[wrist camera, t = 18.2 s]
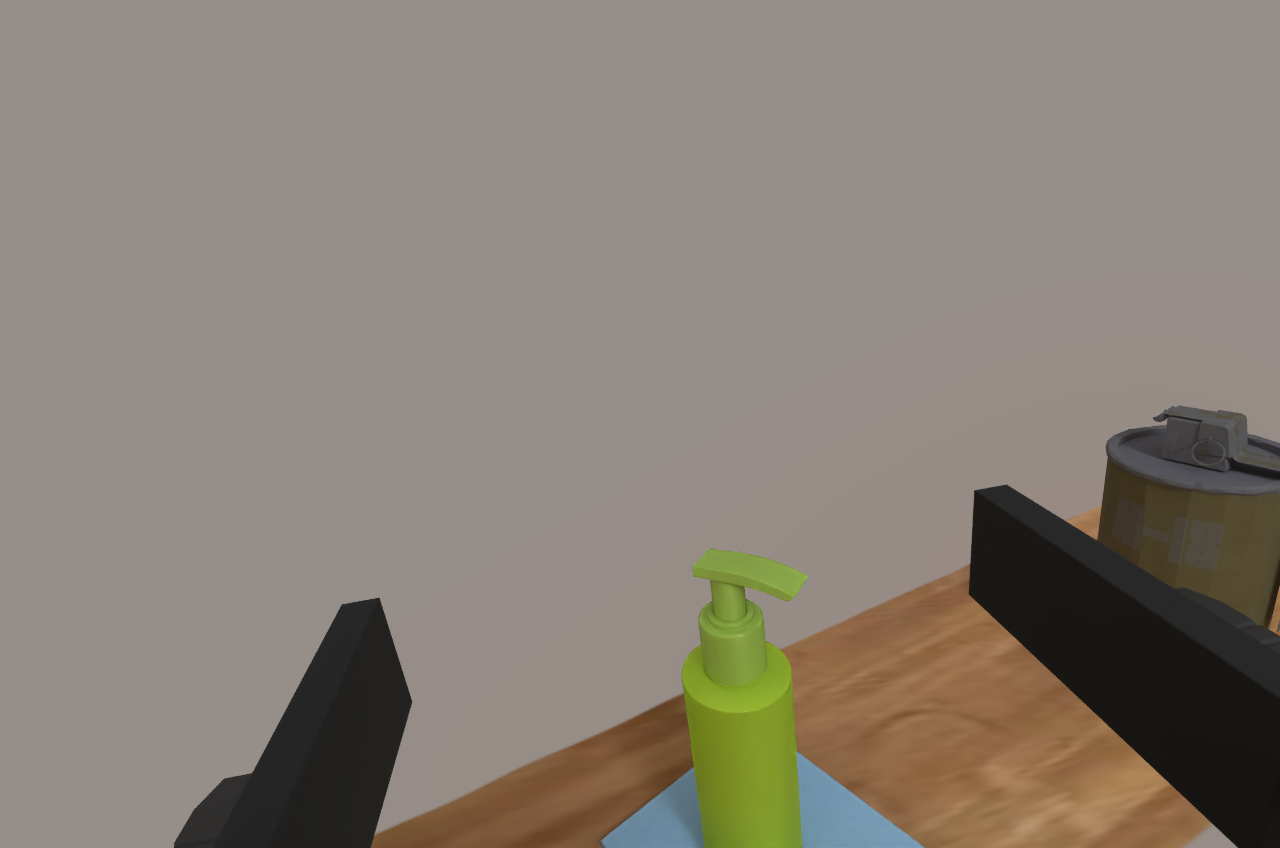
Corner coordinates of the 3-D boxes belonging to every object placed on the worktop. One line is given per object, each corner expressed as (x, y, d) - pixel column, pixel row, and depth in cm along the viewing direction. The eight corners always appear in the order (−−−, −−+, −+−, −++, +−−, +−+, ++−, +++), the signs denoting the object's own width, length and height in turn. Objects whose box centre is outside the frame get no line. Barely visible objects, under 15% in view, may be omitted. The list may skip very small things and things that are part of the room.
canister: (1053, 658, 50) (1081, 421, 44) (1117, 603, 55) (1151, 382, 48) (1231, 745, 42) (1300, 464, 35) (1289, 670, 46) (1359, 411, 40)
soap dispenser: (798, 922, 34) (777, 613, 28) (687, 862, 38) (644, 577, 32) (833, 831, 39) (822, 546, 32) (730, 785, 43) (701, 522, 36)
